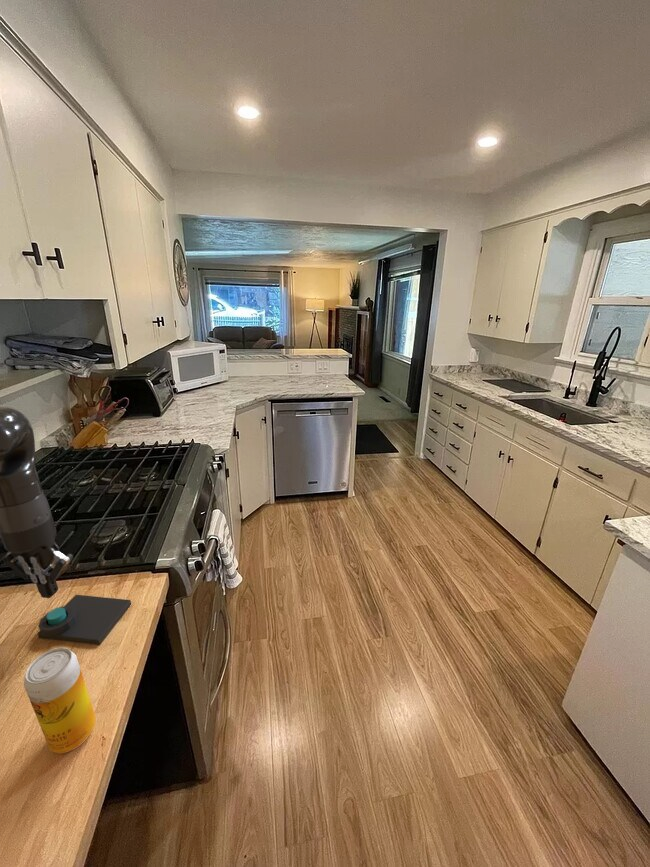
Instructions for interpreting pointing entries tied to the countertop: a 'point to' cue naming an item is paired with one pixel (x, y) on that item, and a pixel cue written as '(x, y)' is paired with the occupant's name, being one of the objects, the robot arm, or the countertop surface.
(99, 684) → the countertop surface
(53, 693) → the beer can
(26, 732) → the countertop surface
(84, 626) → the scale
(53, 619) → the button
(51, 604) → the countertop surface
